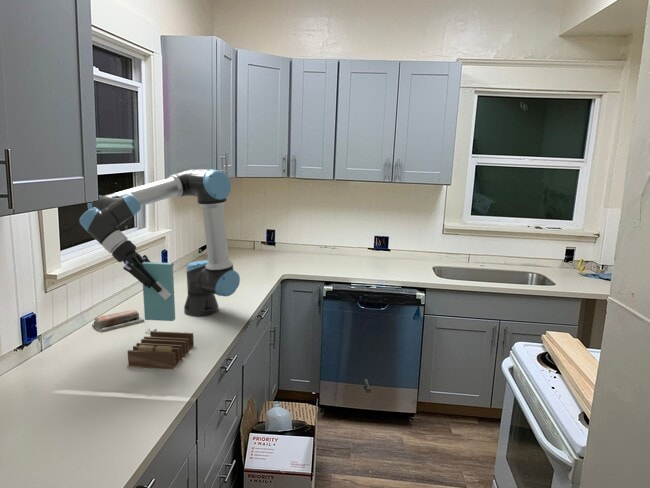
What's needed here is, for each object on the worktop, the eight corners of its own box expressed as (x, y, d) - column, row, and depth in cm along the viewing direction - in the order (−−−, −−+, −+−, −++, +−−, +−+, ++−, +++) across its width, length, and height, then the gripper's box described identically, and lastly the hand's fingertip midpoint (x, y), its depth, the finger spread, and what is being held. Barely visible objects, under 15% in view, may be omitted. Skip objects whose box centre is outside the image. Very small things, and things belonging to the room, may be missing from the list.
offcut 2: (158, 362, 161) (157, 345, 160) (172, 363, 161) (172, 346, 160) (155, 364, 159) (155, 348, 158) (170, 365, 159) (169, 348, 158)
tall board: (147, 317, 165) (144, 262, 161) (175, 319, 165) (172, 263, 161) (144, 319, 163) (141, 263, 159) (173, 321, 163) (170, 264, 159)
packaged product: (100, 322, 188) (90, 315, 195) (100, 333, 189) (91, 326, 196) (144, 312, 200) (134, 306, 207) (144, 322, 201) (134, 316, 208)
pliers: (123, 342, 177) (140, 327, 192) (124, 346, 177) (140, 331, 192) (149, 343, 177) (164, 328, 191) (150, 347, 177) (164, 332, 192)
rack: (151, 346, 177) (151, 331, 176) (193, 348, 176) (193, 333, 174) (126, 369, 158) (125, 352, 157) (173, 372, 157) (172, 355, 156)
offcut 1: (141, 361, 162) (140, 344, 161) (155, 362, 162) (154, 345, 160) (138, 363, 160) (137, 347, 159) (153, 364, 160) (152, 348, 158)
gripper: (123, 249, 168) (171, 296, 170) (100, 259, 153) (153, 310, 155) (137, 235, 167) (185, 282, 169) (115, 243, 152) (168, 295, 154)
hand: (170, 296), depth 162 cm, fingers closed on tall board, 2 cm apart
